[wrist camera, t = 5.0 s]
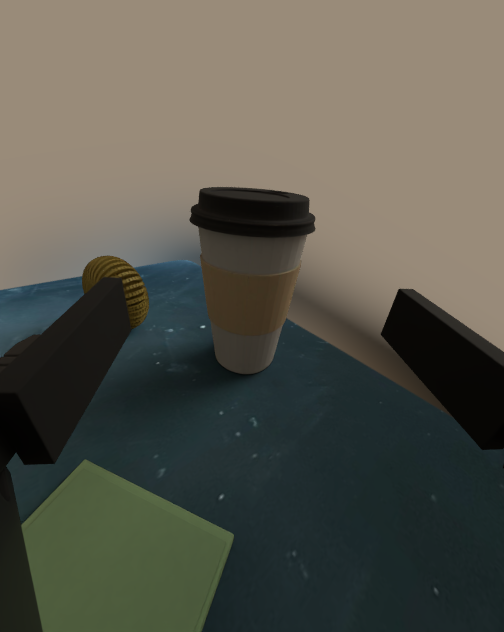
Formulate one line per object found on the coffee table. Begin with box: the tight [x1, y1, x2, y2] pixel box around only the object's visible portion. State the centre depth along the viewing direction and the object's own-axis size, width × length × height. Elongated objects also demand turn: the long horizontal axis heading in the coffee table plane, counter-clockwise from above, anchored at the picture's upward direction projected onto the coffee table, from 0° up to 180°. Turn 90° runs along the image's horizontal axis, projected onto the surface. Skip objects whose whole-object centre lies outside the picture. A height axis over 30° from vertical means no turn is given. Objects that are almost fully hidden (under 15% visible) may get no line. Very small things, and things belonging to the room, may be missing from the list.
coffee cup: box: [190, 187, 315, 374], centre depth 23 cm, size 9×9×15 cm
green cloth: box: [21, 460, 234, 632], centre depth 12 cm, size 10×6×1 cm, turn 70°
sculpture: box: [82, 256, 149, 329], centre depth 27 cm, size 8×4×8 cm, turn 55°
